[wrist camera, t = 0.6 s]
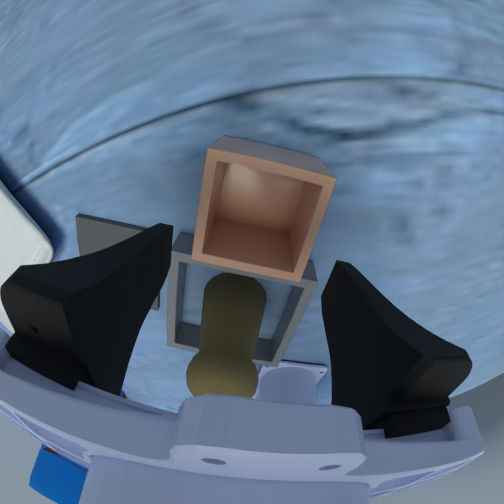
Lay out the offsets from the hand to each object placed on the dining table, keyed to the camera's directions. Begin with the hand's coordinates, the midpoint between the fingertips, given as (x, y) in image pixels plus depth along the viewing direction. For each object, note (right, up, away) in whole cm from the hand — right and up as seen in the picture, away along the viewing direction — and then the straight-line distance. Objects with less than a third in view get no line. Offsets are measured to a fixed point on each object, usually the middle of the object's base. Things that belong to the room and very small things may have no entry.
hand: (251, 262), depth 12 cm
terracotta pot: (+1, +5, +9) cm, 10 cm away
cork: (-2, -4, +15) cm, 15 cm away
